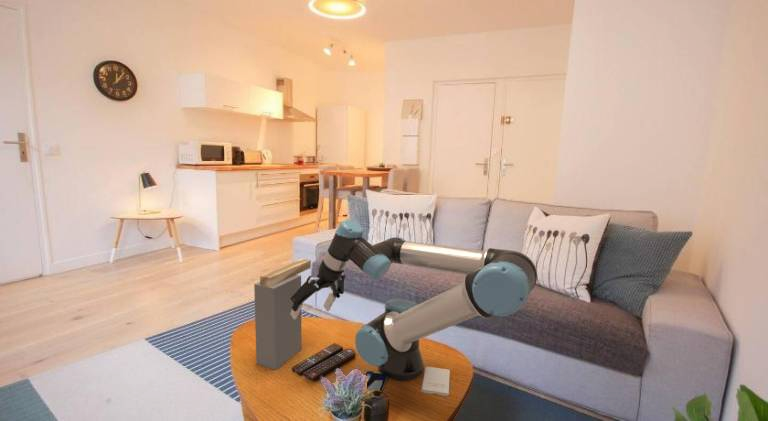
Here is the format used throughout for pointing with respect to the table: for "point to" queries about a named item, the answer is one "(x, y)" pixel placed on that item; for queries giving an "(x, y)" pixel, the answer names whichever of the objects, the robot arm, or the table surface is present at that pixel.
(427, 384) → the external hard drive
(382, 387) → the smartphone
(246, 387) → the table surface
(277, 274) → the birch strip
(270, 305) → the tall stand
